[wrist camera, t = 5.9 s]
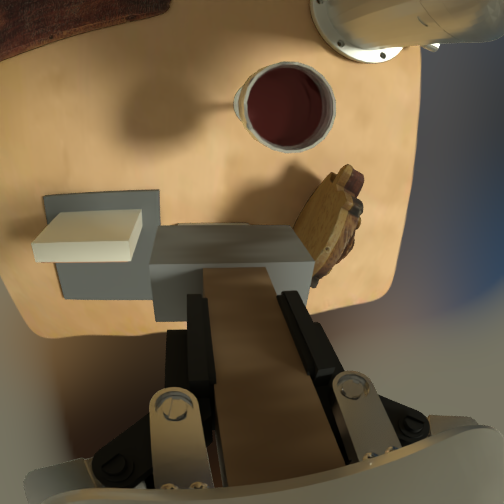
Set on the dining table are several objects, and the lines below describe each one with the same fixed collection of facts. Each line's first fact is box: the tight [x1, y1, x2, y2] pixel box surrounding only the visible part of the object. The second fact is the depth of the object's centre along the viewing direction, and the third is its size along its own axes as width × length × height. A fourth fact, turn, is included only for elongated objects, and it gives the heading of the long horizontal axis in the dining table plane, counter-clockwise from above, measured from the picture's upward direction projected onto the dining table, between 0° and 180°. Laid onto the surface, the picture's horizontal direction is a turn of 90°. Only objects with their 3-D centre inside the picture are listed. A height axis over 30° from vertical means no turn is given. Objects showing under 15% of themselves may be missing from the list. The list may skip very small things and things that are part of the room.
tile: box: [31, 209, 143, 263], centre depth 28 cm, size 10×2×8 cm, turn 86°
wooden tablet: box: [0, 0, 171, 61], centre depth 19 cm, size 26×2×10 cm
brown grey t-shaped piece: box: [149, 225, 346, 487], centre depth 10 cm, size 7×3×15 cm, turn 86°
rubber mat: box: [43, 190, 161, 300], centre depth 34 cm, size 14×14×1 cm
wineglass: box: [234, 62, 336, 153], centre depth 25 cm, size 7×7×12 cm
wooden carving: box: [293, 164, 364, 288], centre depth 33 cm, size 16×5×10 cm, turn 158°
